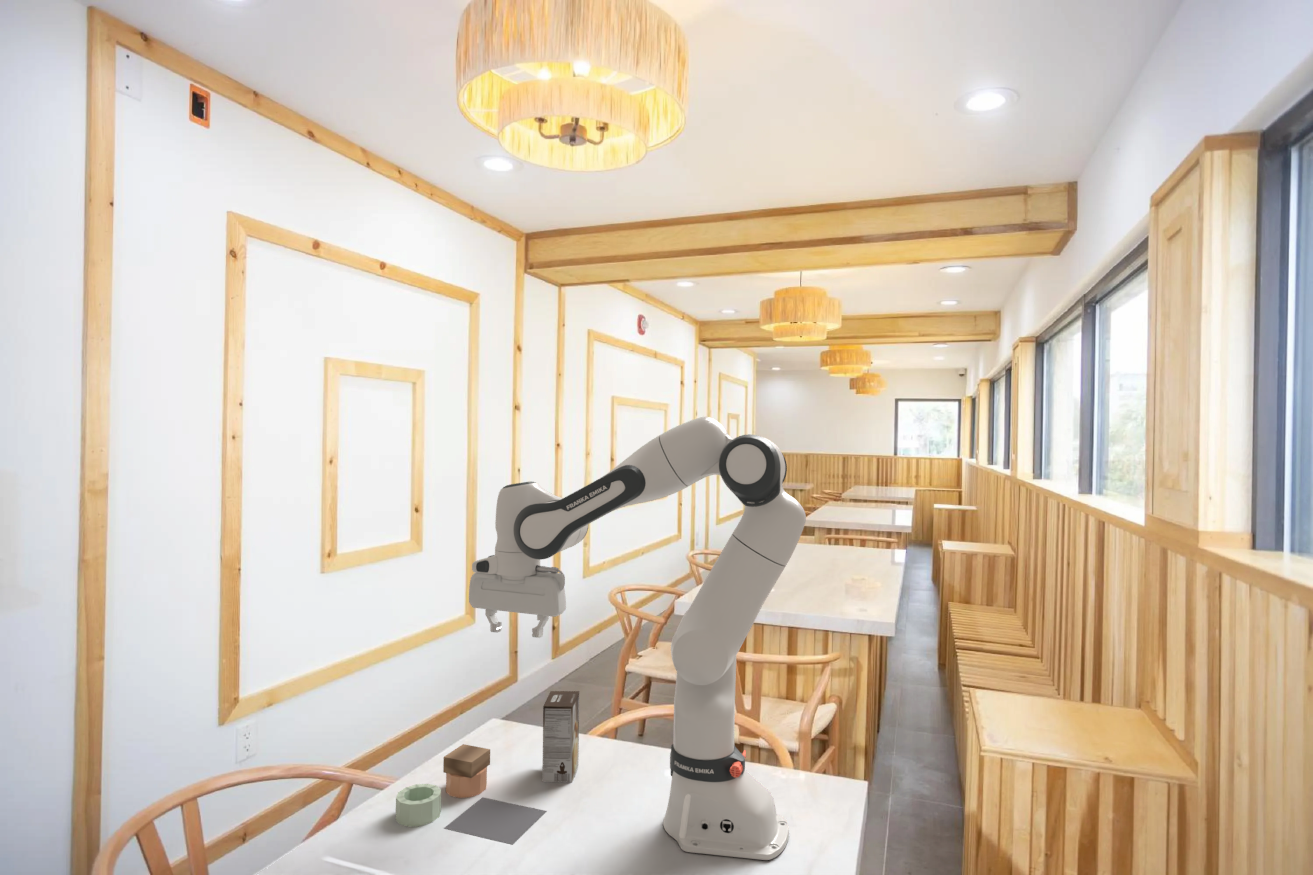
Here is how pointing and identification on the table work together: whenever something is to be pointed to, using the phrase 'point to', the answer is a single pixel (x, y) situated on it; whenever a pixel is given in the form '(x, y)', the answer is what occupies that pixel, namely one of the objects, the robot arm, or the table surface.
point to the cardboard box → (466, 761)
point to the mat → (496, 820)
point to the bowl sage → (418, 805)
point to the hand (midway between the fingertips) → (516, 634)
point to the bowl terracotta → (466, 784)
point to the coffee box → (560, 736)
